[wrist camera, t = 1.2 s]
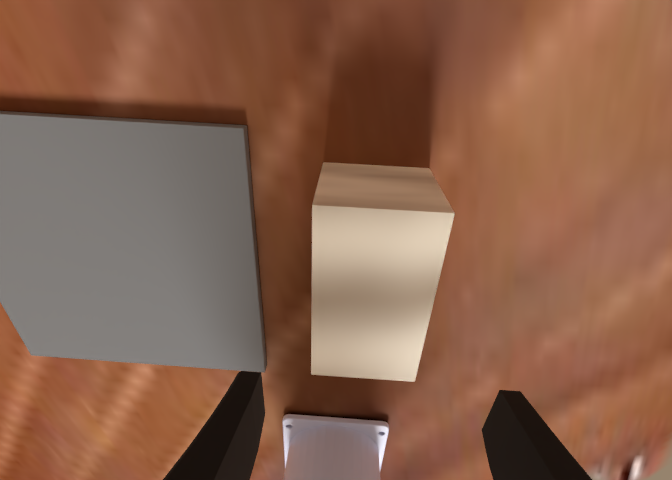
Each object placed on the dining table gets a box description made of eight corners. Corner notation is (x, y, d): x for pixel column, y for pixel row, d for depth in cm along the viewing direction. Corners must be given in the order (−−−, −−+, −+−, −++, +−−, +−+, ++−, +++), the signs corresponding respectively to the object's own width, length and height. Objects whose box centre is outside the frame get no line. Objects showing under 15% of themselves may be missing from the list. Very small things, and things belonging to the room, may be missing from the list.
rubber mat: (266, 365, 24) (264, 372, 23) (38, 348, 24) (31, 355, 24) (247, 125, 16) (243, 128, 15) (-98, 105, 16) (-114, 107, 15)
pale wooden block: (402, 310, 21) (414, 381, 17) (320, 305, 21) (310, 374, 17) (428, 166, 16) (454, 213, 12) (323, 161, 17) (312, 205, 12)
